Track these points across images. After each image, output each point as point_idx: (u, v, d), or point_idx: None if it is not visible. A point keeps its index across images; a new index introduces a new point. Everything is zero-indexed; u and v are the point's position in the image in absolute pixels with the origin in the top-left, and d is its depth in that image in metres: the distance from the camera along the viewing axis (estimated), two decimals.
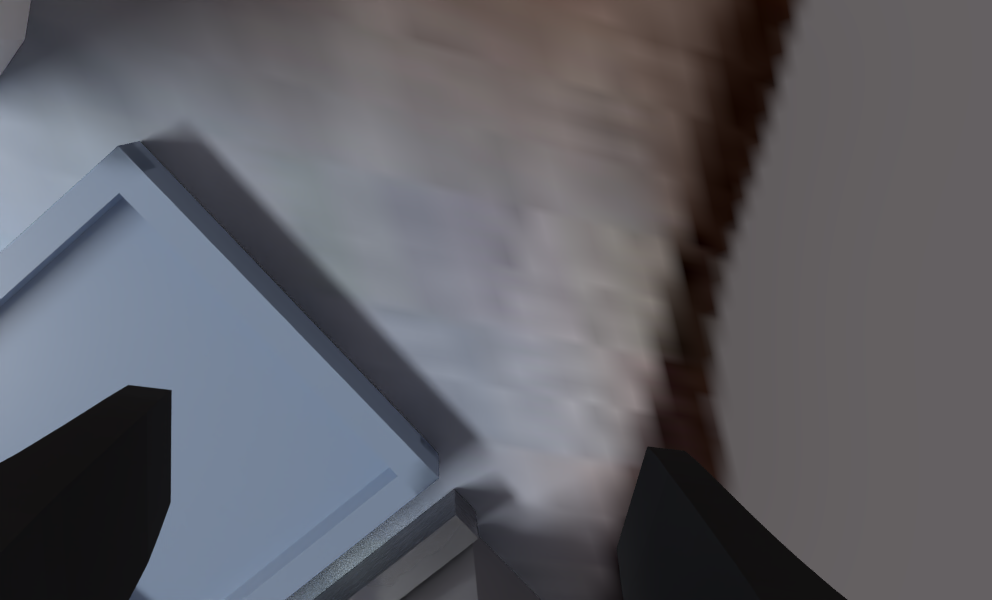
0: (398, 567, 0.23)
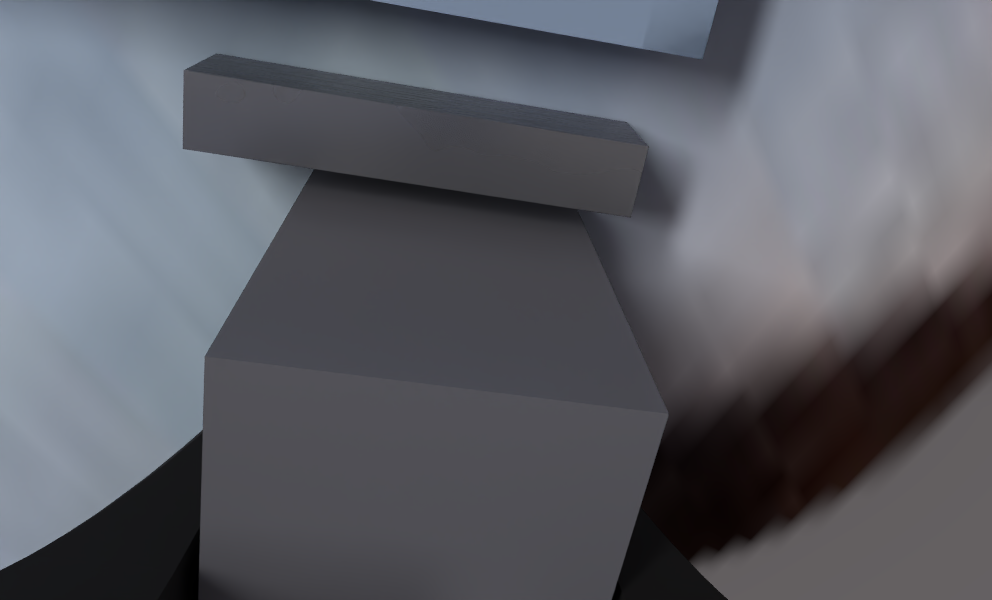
0: (476, 132, 0.10)
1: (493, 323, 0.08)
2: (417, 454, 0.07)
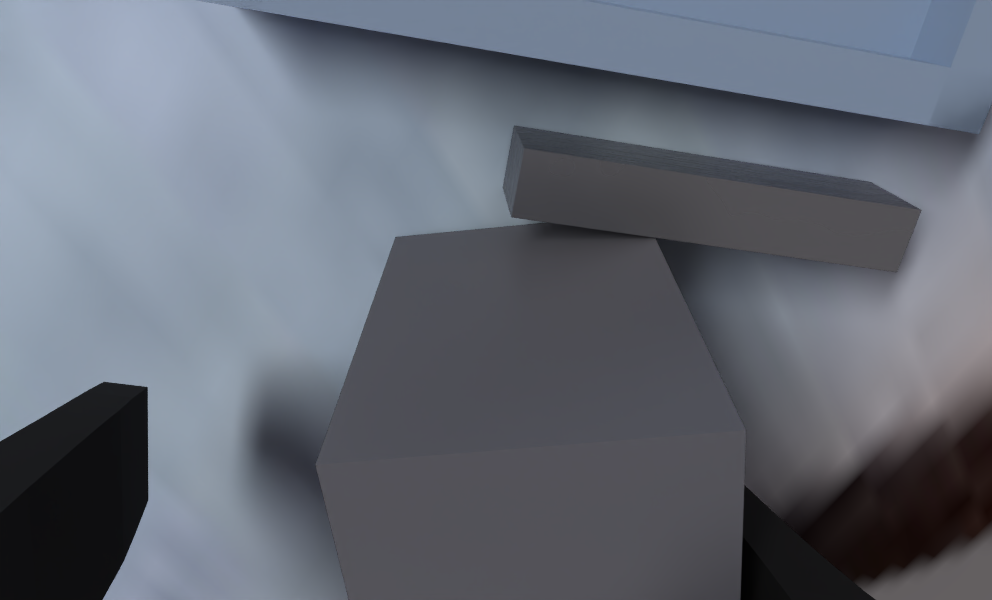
0: (773, 199, 0.12)
1: (569, 369, 0.09)
2: (520, 511, 0.08)
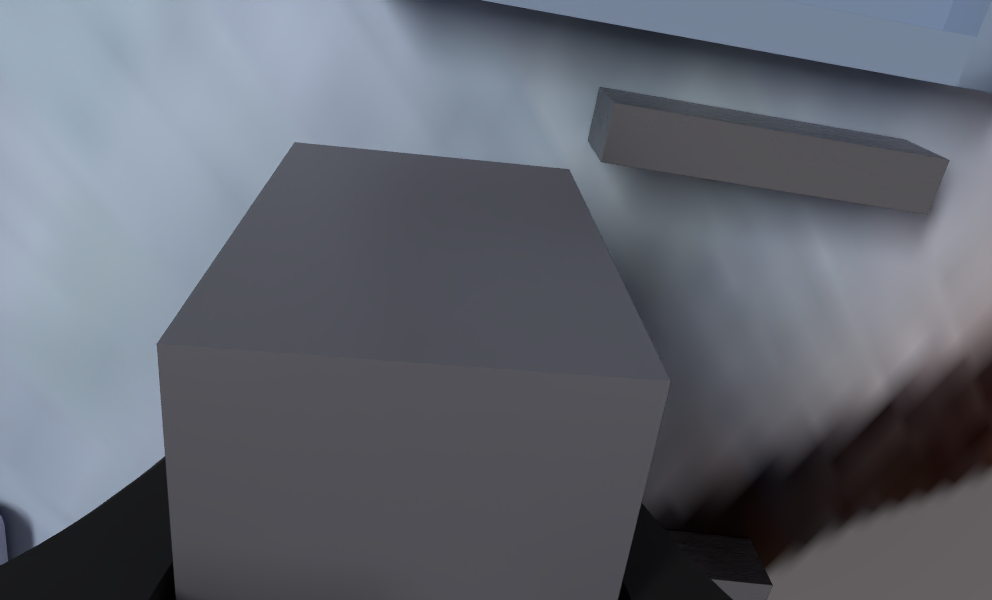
0: (822, 149, 0.14)
1: (477, 294, 0.07)
2: (398, 439, 0.07)
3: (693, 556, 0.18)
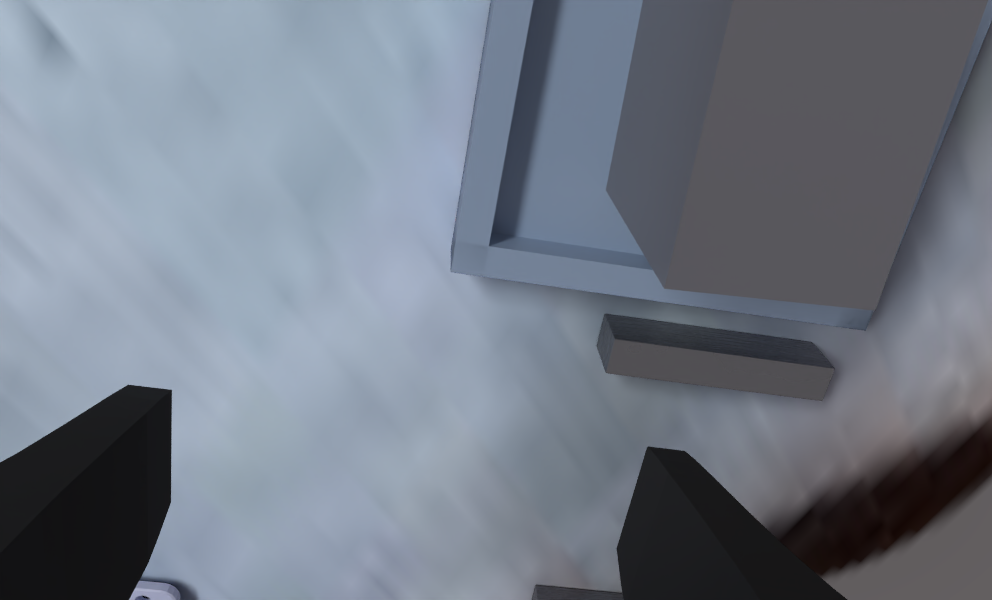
0: (750, 363, 0.21)
1: None
2: None
3: None
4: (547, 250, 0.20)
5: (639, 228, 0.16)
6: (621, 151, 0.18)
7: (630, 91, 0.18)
